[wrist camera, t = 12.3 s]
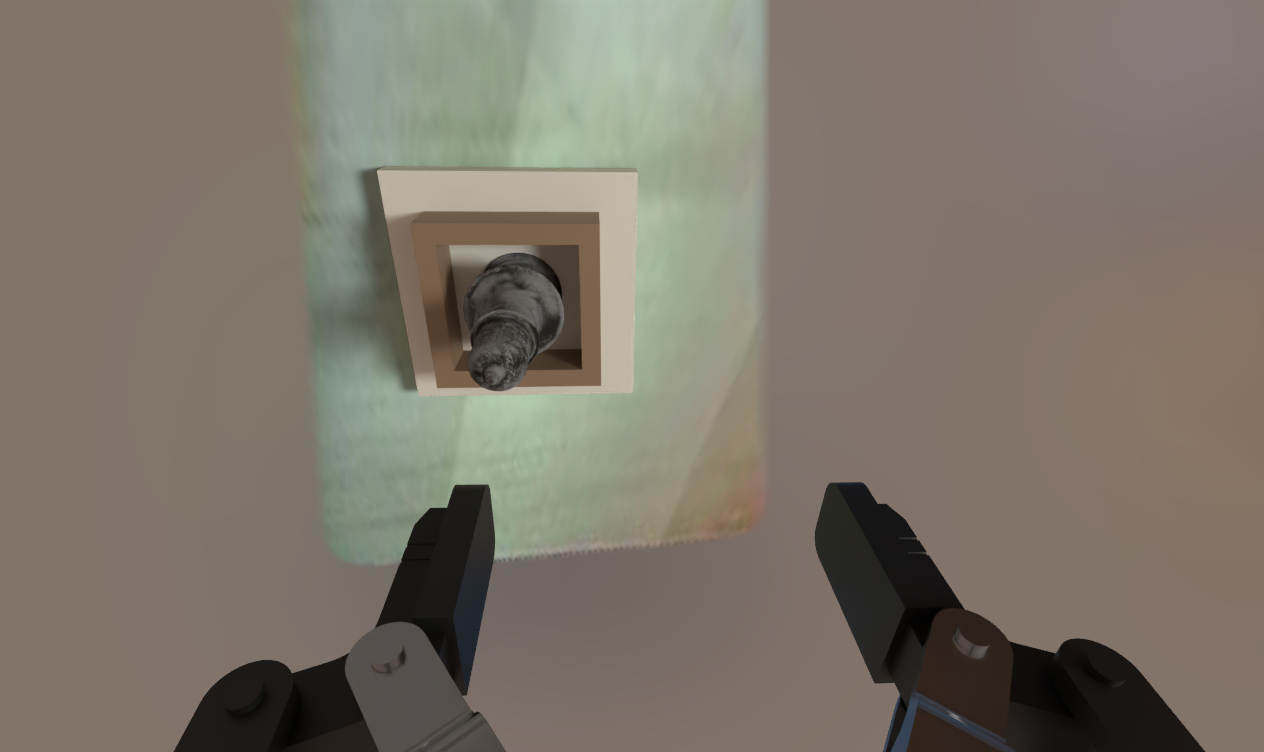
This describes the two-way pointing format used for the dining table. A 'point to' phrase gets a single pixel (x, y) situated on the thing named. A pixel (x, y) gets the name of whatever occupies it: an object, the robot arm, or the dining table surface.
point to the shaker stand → (516, 223)
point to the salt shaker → (511, 318)
